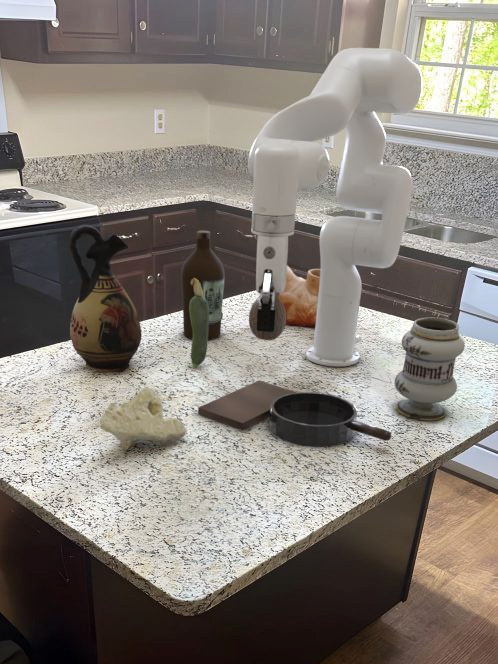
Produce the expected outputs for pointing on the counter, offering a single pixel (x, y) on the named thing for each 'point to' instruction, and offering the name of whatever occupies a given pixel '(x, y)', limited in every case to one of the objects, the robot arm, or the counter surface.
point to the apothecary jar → (428, 367)
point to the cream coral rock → (141, 420)
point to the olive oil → (203, 284)
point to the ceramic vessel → (301, 298)
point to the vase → (279, 320)
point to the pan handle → (370, 430)
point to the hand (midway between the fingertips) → (267, 324)
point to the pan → (312, 418)
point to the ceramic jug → (103, 307)
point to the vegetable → (199, 324)
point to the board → (244, 405)
